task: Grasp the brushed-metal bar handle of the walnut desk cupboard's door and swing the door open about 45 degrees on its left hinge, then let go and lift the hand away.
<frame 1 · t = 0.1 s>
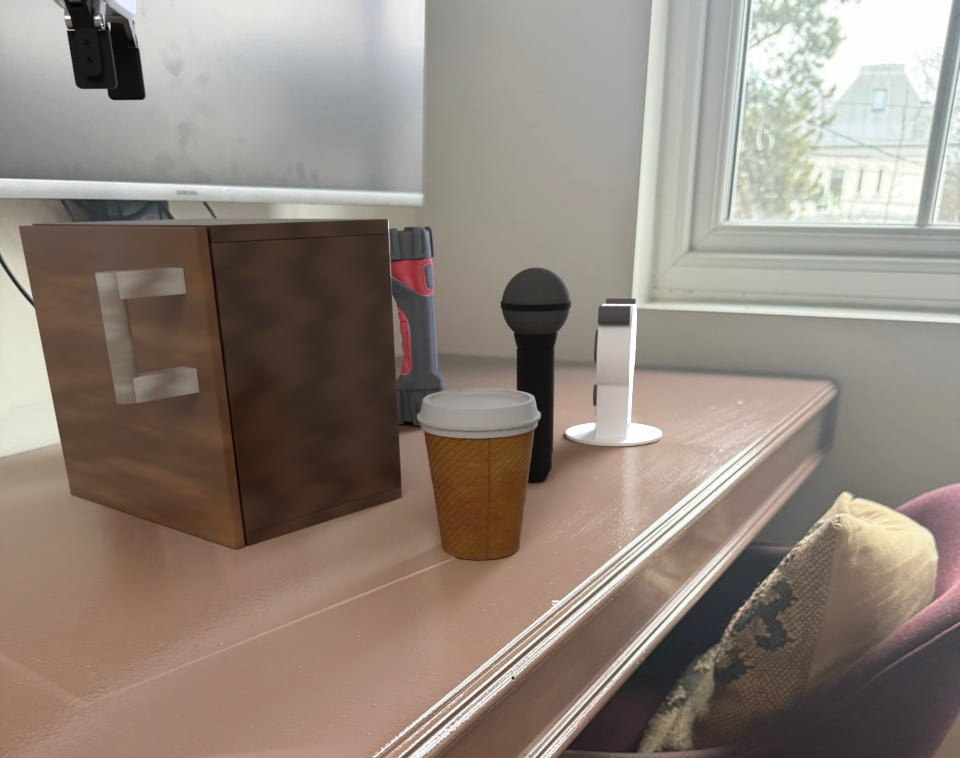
hand: (113, 94, 83), 34 cm above the table, tool pointing down, fingers open, 9 cm apart
cupboard: (239, 495, 94), on the table
microphone: (534, 481, 97), on the table
disposable coffee cup: (480, 549, 79), on the table
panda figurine: (613, 436, 115), on the table
cupboard door: (93, 386, 80), point 12 cm above the table, hinge at 0.0°
flashlight: (411, 423, 124), on the table
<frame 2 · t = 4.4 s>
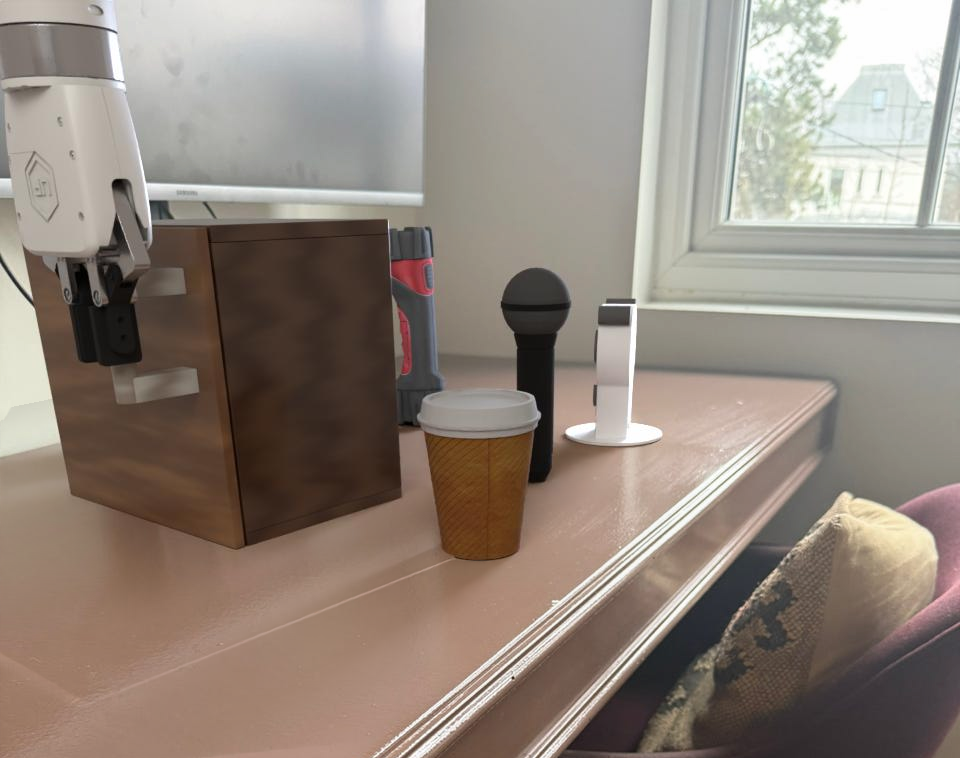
hand: (110, 360, 70), 16 cm above the table, tool pointing down, fingers closed on cupboard door, 2 cm apart
cupboard door: (93, 386, 80), point 12 cm above the table, hinge at 0.0°, touching gripper
everything else where it was.
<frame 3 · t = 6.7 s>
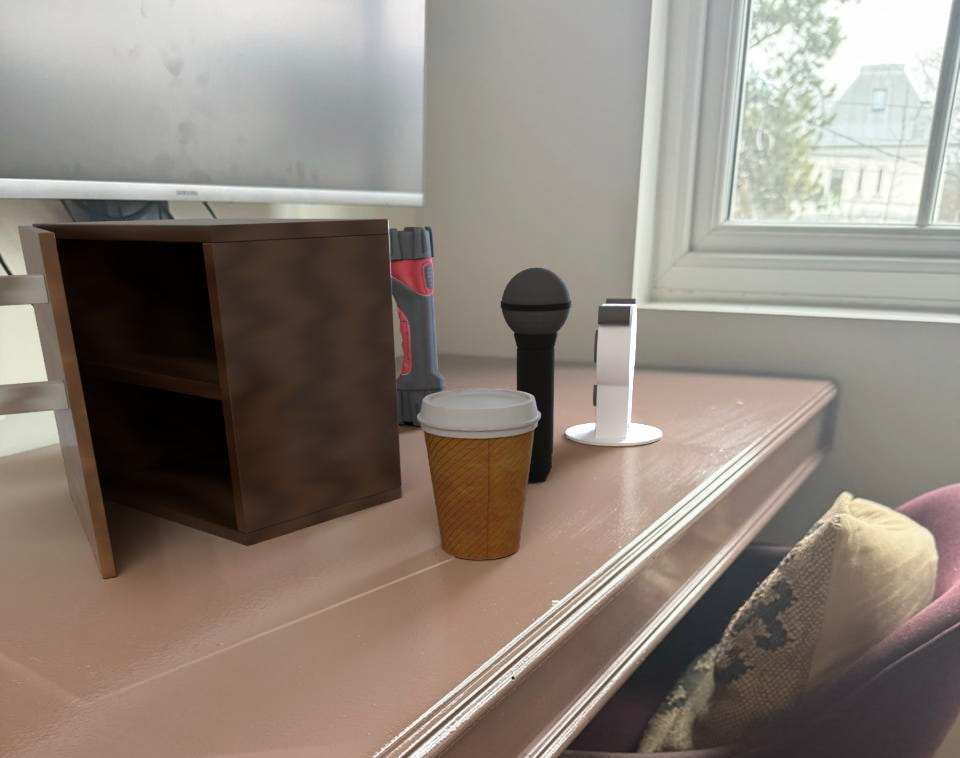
cupboard door: (21, 392, 78), point 12 cm above the table, hinge at 23.3°, touching gripper
everything else where it was.
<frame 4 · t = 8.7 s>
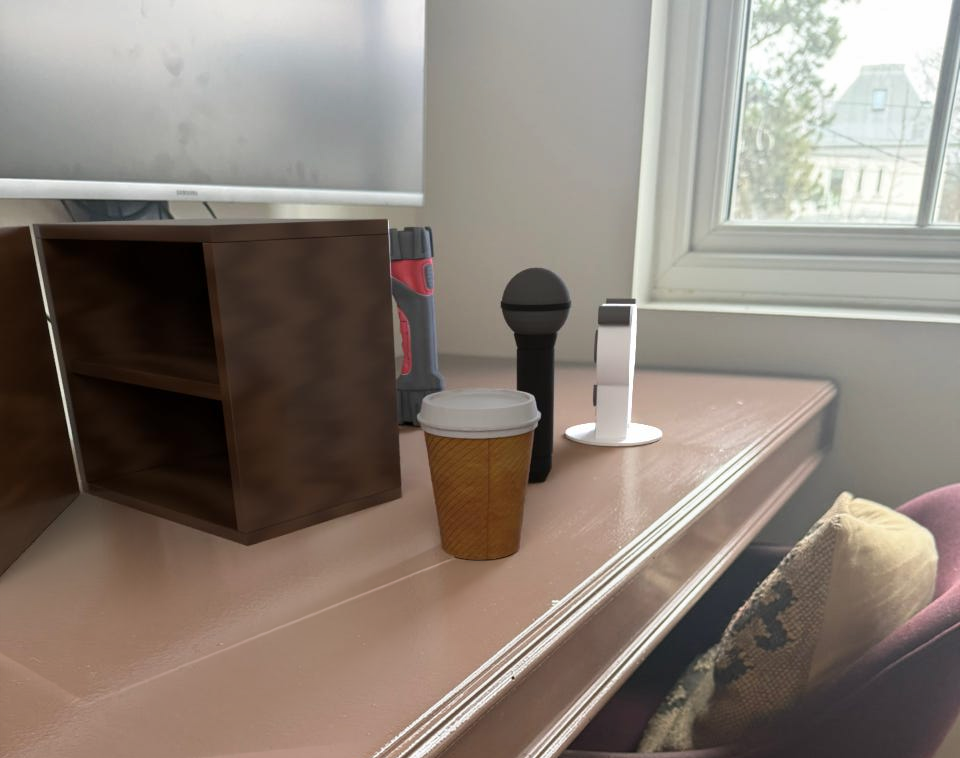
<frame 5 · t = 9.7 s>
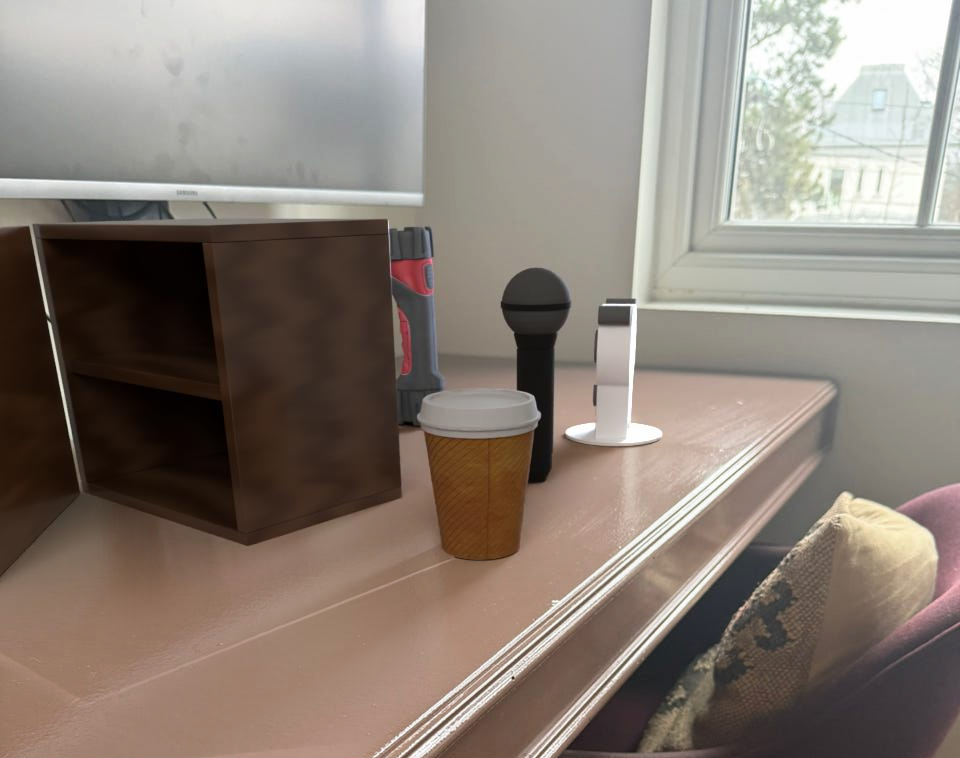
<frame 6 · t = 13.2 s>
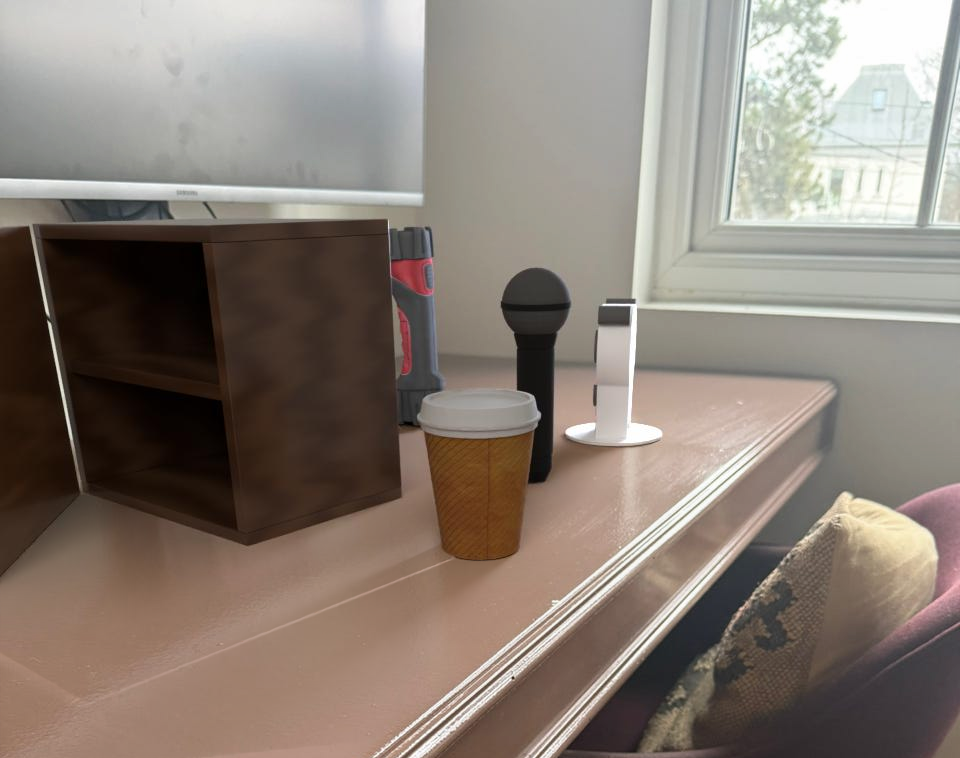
at the end: cupboard door at +43° (first picture: +0°); the gripper is holding nothing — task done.
